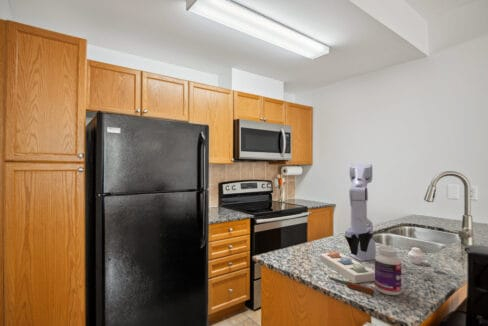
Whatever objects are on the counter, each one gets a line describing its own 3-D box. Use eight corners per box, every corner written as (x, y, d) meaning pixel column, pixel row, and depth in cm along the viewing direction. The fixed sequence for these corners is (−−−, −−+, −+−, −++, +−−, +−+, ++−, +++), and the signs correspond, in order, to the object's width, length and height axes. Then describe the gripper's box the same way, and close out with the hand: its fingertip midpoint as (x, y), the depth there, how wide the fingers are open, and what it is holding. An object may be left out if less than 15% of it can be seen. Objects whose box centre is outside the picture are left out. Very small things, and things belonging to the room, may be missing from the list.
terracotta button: (335, 256, 118) (335, 250, 118) (341, 259, 114) (341, 254, 114) (327, 257, 117) (327, 251, 117) (333, 260, 113) (333, 254, 113)
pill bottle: (401, 299, 83) (401, 254, 83) (373, 292, 87) (373, 250, 88) (401, 289, 90) (401, 247, 90) (376, 283, 94) (375, 244, 94)
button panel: (338, 258, 120) (338, 252, 120) (377, 280, 97) (377, 272, 97) (319, 260, 118) (319, 254, 118) (355, 283, 95) (355, 275, 95)
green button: (359, 269, 103) (359, 263, 103) (367, 274, 98) (367, 267, 98) (350, 270, 101) (350, 264, 101) (358, 275, 97) (358, 269, 97)
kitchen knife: (374, 294, 86) (374, 289, 86) (373, 296, 85) (373, 290, 85) (330, 280, 97) (330, 275, 97) (328, 281, 96) (328, 276, 96)
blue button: (347, 262, 110) (347, 256, 110) (353, 266, 106) (353, 260, 106) (338, 263, 109) (338, 257, 109) (344, 267, 105) (344, 261, 105)
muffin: (406, 262, 115) (406, 247, 115) (409, 259, 119) (409, 244, 119) (423, 266, 110) (423, 250, 110) (426, 263, 115) (425, 247, 115)
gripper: (360, 214, 107) (360, 246, 107) (338, 218, 100) (338, 253, 99) (376, 217, 102) (376, 251, 101) (354, 221, 94) (355, 258, 93)
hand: (358, 252), depth 100 cm, fingers open, 6 cm apart
